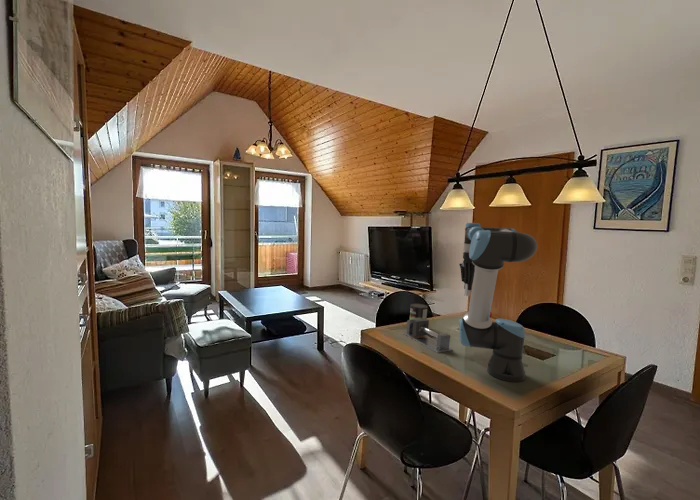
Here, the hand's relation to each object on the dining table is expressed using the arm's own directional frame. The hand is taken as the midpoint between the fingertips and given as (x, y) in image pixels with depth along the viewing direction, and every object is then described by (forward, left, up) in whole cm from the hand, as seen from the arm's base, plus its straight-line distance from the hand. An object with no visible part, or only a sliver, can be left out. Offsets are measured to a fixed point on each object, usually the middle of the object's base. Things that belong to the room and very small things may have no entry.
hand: (467, 295), depth 180 cm
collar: (+15, +18, -25) cm, 34 cm away
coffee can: (+30, +8, -27) cm, 41 cm away
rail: (+9, +18, -26) cm, 33 cm away
